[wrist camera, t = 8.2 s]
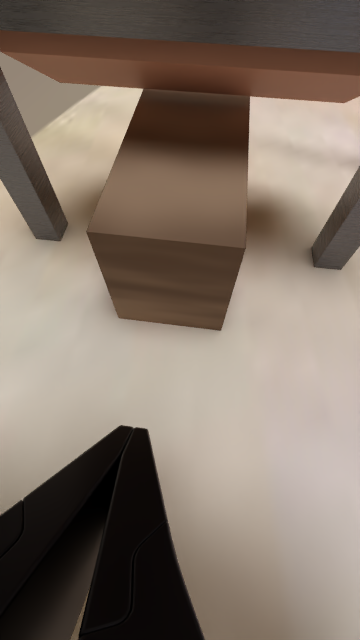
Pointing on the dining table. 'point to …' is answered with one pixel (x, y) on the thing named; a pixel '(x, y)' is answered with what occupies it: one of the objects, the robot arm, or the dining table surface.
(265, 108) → the dining table surface
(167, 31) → the gate frame
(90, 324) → the dining table surface
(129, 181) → the block
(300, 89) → the flap door
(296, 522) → the dining table surface
